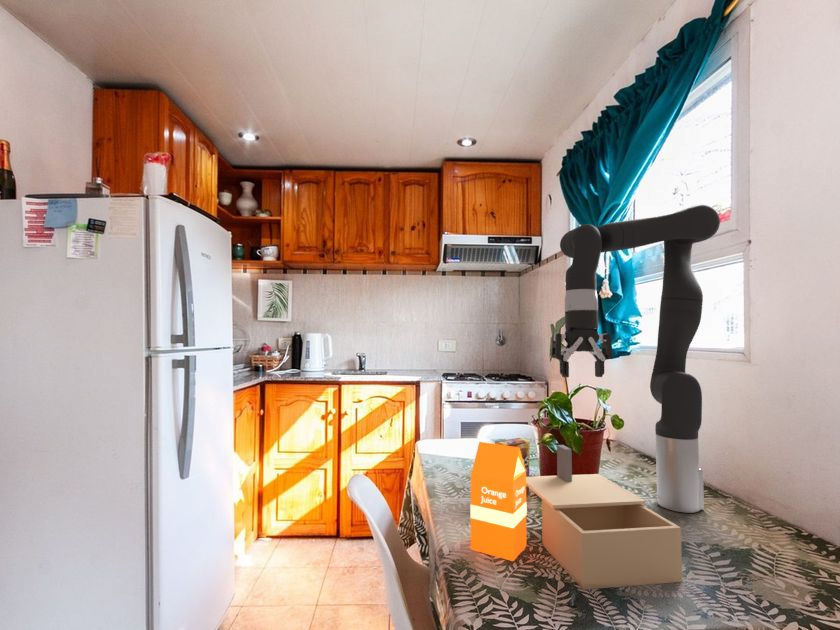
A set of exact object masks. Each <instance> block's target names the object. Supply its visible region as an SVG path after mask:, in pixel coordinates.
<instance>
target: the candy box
mask: <svg viewBox="0 0 840 630" xmlns="http://www.w3.org/2000/svg"><path fill="white" fill-rule="evenodd" d="M494 444H498V445H505V446H512V447H519V448H520V452H521V455H522V459H523V462H524V466H525V470H526V477H530V451H531V450H530V448H531V447H530V446H531V445H530V440H528V439H526V438H520V437H517V438H511V439H505V440H499V441H498V440H496V441H494ZM529 500H530V488H529V487H527V486H526V502H528V501H529Z"/></svg>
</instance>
